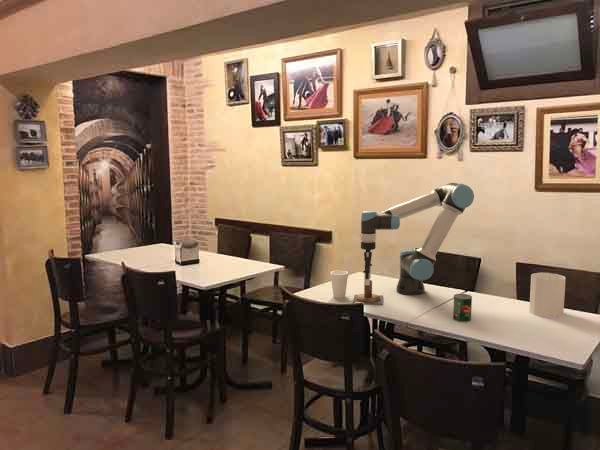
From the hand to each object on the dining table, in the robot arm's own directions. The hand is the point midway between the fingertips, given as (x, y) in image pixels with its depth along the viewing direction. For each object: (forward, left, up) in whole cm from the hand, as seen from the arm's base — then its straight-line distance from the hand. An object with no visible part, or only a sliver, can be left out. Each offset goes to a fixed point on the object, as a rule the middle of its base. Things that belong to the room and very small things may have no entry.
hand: (367, 281), depth 263 cm
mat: (0, 0, -10) cm, 10 cm away
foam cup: (+15, -6, -10) cm, 19 cm away
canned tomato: (-44, +25, -10) cm, 52 cm away
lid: (0, 0, -9) cm, 9 cm away
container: (-84, +11, -10) cm, 85 cm away
